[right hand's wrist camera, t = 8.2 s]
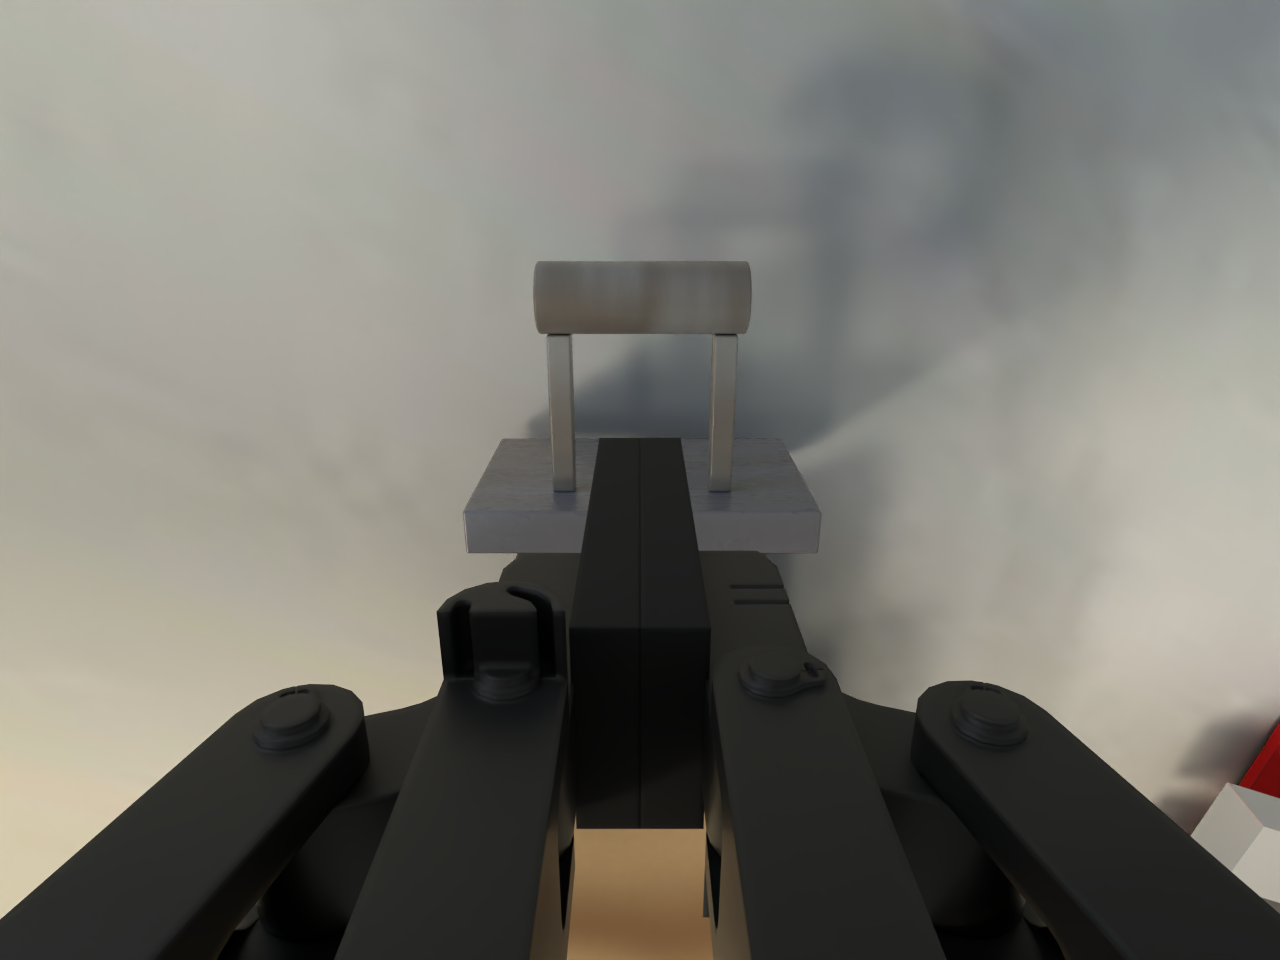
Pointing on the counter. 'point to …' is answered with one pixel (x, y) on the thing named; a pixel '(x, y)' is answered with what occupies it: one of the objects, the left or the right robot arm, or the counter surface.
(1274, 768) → the toy
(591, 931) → the wooden block
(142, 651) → the counter surface
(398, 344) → the counter surface
